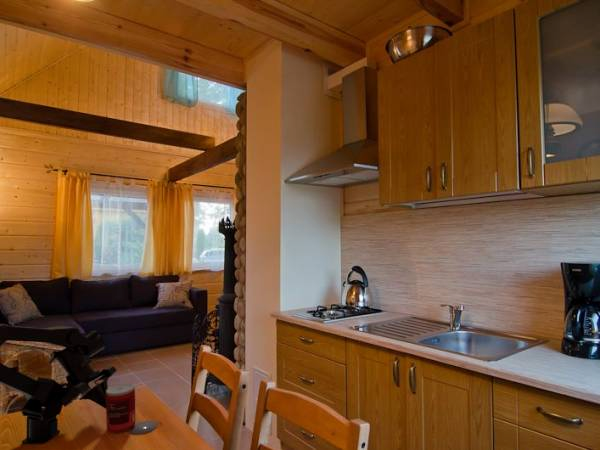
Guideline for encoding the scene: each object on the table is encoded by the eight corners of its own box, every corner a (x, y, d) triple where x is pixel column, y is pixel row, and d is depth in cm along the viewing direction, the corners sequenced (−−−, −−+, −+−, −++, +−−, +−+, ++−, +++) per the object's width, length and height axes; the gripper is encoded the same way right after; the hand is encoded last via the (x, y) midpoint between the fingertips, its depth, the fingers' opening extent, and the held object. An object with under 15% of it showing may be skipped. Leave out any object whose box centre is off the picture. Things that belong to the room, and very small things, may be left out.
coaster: (122, 434, 106) (122, 433, 106) (136, 420, 114) (136, 420, 114) (150, 434, 106) (150, 434, 106) (162, 421, 113) (162, 420, 114)
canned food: (127, 417, 116) (126, 381, 116) (141, 425, 111) (140, 386, 111) (101, 428, 110) (100, 389, 110) (114, 436, 105) (113, 395, 105)
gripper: (76, 372, 123) (106, 410, 121) (31, 395, 104) (66, 441, 103) (102, 349, 122) (132, 388, 121) (61, 369, 104) (96, 415, 102)
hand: (108, 407), depth 112 cm, fingers closed
